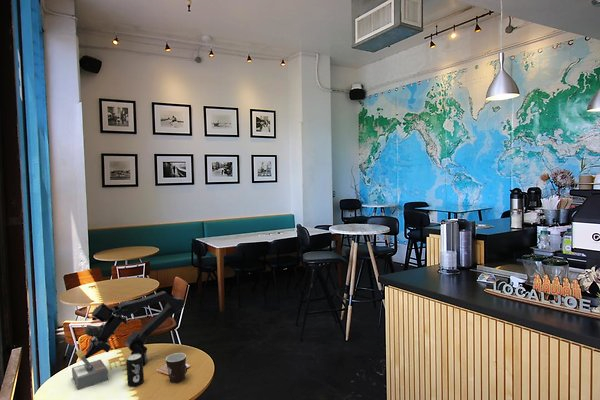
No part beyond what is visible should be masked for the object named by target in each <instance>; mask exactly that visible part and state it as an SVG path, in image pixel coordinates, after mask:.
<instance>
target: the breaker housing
mask: <svg viewBox="0 0 600 400" xmlns="http://www.w3.org/2000/svg"><path fill="white" fill-rule="evenodd" d="M90 364H91V365H92V367H93V368H92V369H91V370H89V369H88V367H87V366H86V364H85V363H83V364H81V365H77V366H74V367H72V368H71V373H72V375H71V376H72V380H73V383H74V384H75V386H76V388H77V390H79V391H81V390H83V389H86V388H88V387H91V386H95V385H98V384H101V383H104V382H107V381H109V371H108V368H107V366H106V365H105V364H104V362H103V361H102V359H98V360H93V361H91V362H90Z"/></svg>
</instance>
